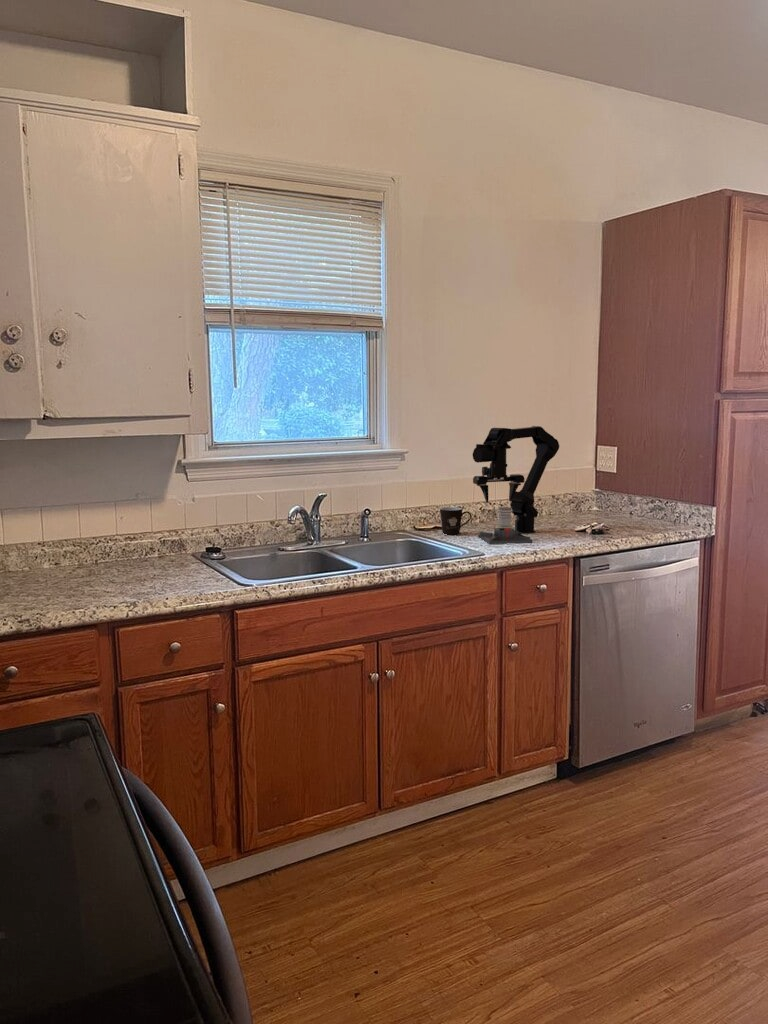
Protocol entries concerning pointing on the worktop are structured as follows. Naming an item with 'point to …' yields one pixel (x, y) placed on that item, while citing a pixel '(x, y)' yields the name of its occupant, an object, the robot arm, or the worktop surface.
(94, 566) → the worktop surface
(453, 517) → the coffee mug
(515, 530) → the robot arm
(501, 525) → the column
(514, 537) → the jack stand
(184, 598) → the worktop surface
